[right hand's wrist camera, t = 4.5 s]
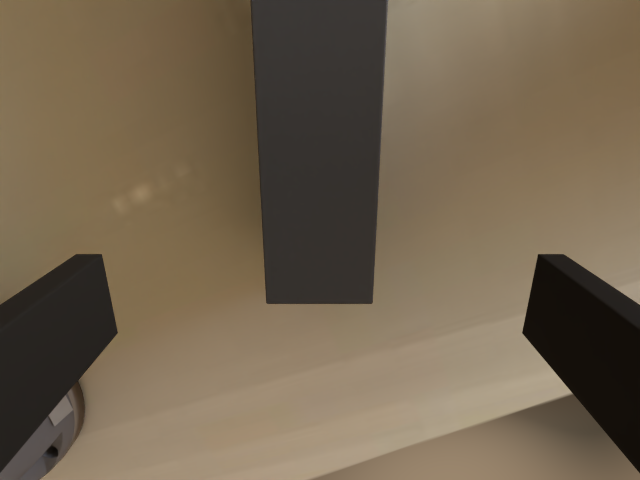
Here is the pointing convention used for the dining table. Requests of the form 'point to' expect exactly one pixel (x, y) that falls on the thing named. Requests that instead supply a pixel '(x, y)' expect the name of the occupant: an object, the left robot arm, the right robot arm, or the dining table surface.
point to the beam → (319, 145)
